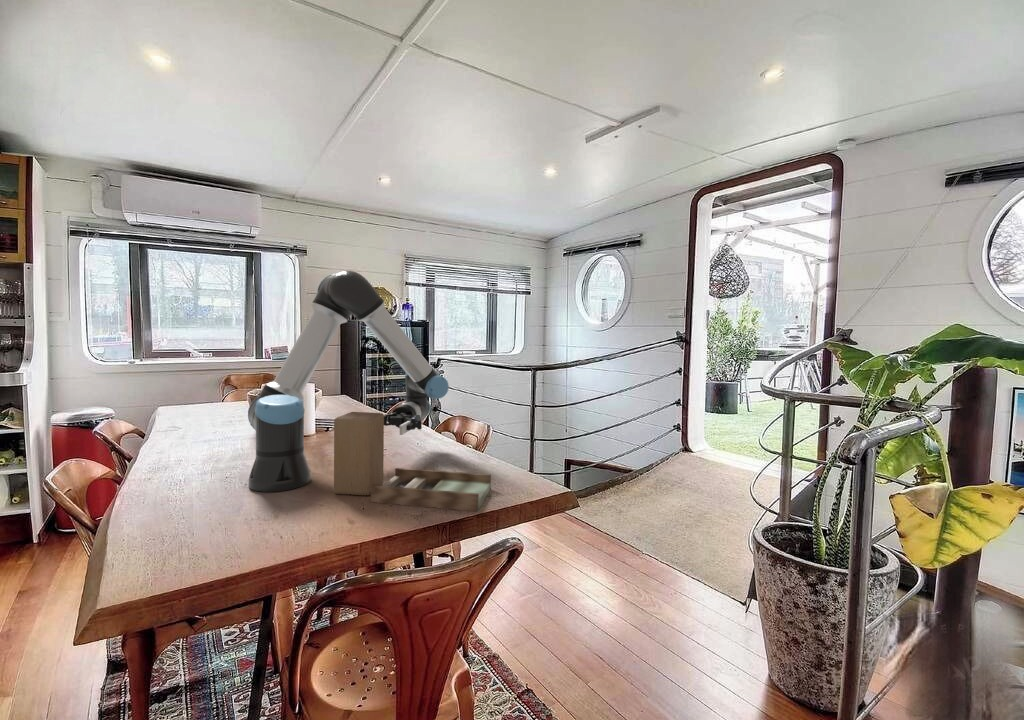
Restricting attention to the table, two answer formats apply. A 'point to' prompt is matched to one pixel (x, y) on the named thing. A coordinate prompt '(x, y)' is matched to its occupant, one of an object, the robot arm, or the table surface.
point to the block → (358, 452)
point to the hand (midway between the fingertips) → (378, 429)
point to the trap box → (434, 489)
